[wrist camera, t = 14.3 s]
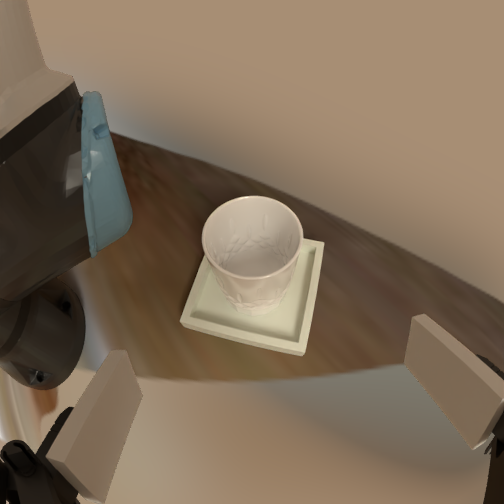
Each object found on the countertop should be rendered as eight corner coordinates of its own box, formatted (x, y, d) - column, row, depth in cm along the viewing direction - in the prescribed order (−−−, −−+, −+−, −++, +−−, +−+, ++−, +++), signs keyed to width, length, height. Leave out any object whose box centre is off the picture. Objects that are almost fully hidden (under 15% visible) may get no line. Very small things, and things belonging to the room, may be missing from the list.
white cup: (223, 253, 33) (211, 193, 24) (292, 257, 32) (302, 198, 24) (213, 318, 29) (192, 274, 20) (290, 324, 28) (303, 282, 20)
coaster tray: (184, 327, 29) (179, 321, 27) (219, 231, 35) (217, 221, 34) (302, 356, 27) (305, 352, 25) (321, 251, 33) (324, 242, 32)
